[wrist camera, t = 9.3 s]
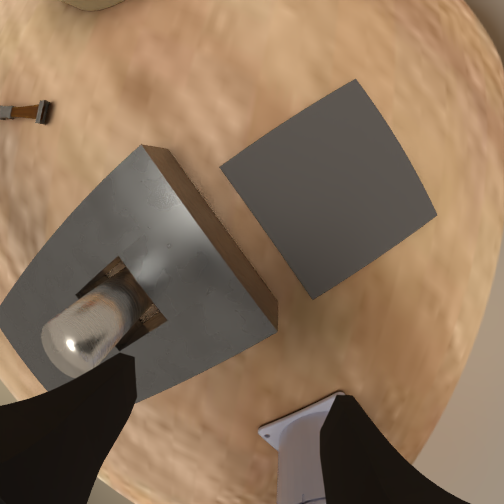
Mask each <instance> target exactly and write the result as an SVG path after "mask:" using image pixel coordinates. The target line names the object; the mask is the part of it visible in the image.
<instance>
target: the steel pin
mask: <svg viewBox="0 0 504 504" xmlns="http://www.w3.org/2000/svg"><path fill="white" fill-rule="evenodd" d="M152 304H153V301H152V300H151V299H150V298H149V296H148V295H147V294H146V292H145V291H144V290H143V288H142V287H141V286H140V284H139V283H138V282H137V280H136V279H135V278H134V276H133V275H132V274H131V272H130V271H129V270H128V268H127V267H125V268H124V269H122V270H121V271H119V272H118V273H116V274H115V275H113V276H112V277H110V278H109V279H107V280H106V281H105V282H103V283H102V284H100V285H99V286H97V287H96V288H94V289H93V290H92V291H90V292H89V293H87V294H86V295H84V296H83V297H82V298H80V299H79V300H77V301H76V302H75V303H73V304H72V305H70V306H69V307H68V308H66V309H65V310H64V311H62V312H61V313H59V314H58V315H57V316H55V317H54V318H53V319H51V320H50V321H49V322H47V323H46V324H45V325H44V326H43V328H42V332H41V339H42V344H43V347H44V350H45V352H46V354H47V356H48V357H49V359H50V360H51V362H52V363H53V364H54V365H55V366H56V367H57V368H58V369H59V370H60V371H62V372H63V373H64V374H66V375H68V376H70V377H72V378H77V377H79V376H81V375H82V374H84V373H86V372H88V371H89V370H91V369H93V368H94V367H96V366H98V365H99V364H100V362H101V361H102V360H103V359H104V358H105V357H106V355H107V354H108V353H109V352H110V351H111V350H112V349H113V347H114V346H115V345H116V344H117V343H118V342H119V341H120V339H121V338H122V337H123V336H124V335H125V334H126V333H127V332H128V330H129V329H130V328H131V327H132V326H133V325H134V324H135V323H136V321H137V320H138V319H139V318H140V317H141V316H142V315H143V314H144V313H145V311H146V310H147V309H148V308H149V307H150V306H151V305H152Z"/></svg>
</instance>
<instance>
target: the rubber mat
mask: <svg viewBox="0 0 504 504" xmlns="http://www.w3.org/2000/svg"><path fill="white" fill-rule="evenodd" d="M220 169H221V170H222V171H223V173H224V174H225V176H226V177H227V178H228V180H229V181H230V183H231V184H232V185H233V187H234V188H235V189H236V191H237V192H238V194H239V195H240V196H241V198H242V199H243V201H244V202H245V203H246V205H247V206H248V208H249V209H250V211H251V212H252V213H253V215H254V216H255V218H256V219H257V220H258V222H259V223H260V225H261V226H262V227H263V229H264V230H265V232H266V233H267V235H268V236H269V237H270V239H271V240H272V242H273V243H274V245H275V246H276V247H277V249H278V250H279V252H280V253H281V255H282V256H283V258H284V259H285V260H286V262H287V263H288V265H289V266H290V268H291V269H292V271H293V272H294V273H295V275H296V276H297V278H298V279H299V281H300V282H301V284H302V285H303V287H304V288H305V289H306V291H307V292H308V294H309V295H310V297H311V298H312V300H314V299H315V298H317V297H318V296H320V295H322V294H323V293H325V292H326V291H328V290H330V289H331V288H333V287H334V286H336V285H337V284H339V283H340V282H342V281H344V280H345V279H347V278H348V277H350V276H351V275H353V274H354V273H356V272H357V271H359V270H360V269H362V268H363V267H365V266H366V265H368V264H369V263H371V262H372V261H374V260H375V259H377V258H378V257H380V256H381V255H383V254H384V253H386V252H387V251H388V250H390V249H391V248H393V247H394V246H396V245H397V244H398V243H400V242H401V241H403V240H404V239H406V238H407V237H408V236H410V235H411V234H413V233H414V232H415V231H417V230H418V229H419V228H421V227H422V226H424V225H425V224H426V223H428V222H429V221H430V220H432V219H433V218H434V217H436V216H437V213H436V211H435V209H434V207H433V205H432V202H431V200H430V198H429V196H428V194H427V192H426V190H425V188H424V186H423V185H422V183H421V181H420V179H419V177H418V175H417V173H416V171H415V170H414V168H413V166H412V164H411V162H410V161H409V159H408V157H407V155H406V154H405V152H404V150H403V148H402V147H401V145H400V143H399V142H398V140H397V139H396V137H395V135H394V134H393V132H392V130H391V129H390V127H389V126H388V124H387V123H386V121H385V120H384V118H383V117H382V115H381V114H380V112H379V111H378V109H377V108H376V106H375V105H374V103H373V102H372V100H371V99H370V98H369V96H368V95H367V93H366V92H365V91H364V89H363V88H362V87H361V85H360V84H359V83H358V81H357V80H356V79H354V80H353V81H351V82H349V83H347V84H346V85H344V86H342V87H341V88H339V89H337V90H335V91H334V92H332V93H330V94H329V95H327V96H325V97H324V98H322V99H320V100H319V101H317V102H316V103H314V104H312V105H311V106H309V107H307V108H306V109H304V110H303V111H301V112H300V113H298V114H296V115H295V116H293V117H292V118H290V119H289V120H287V121H286V122H284V123H282V124H281V125H279V126H278V127H276V128H275V129H273V130H272V131H270V132H269V133H267V134H266V135H264V136H263V137H262V138H260V139H259V140H257V141H256V142H254V143H253V144H251V145H250V146H248V147H247V148H246V149H244V150H243V151H241V152H240V153H238V154H237V155H236V156H234V157H233V158H231V159H230V160H229V161H227V162H226V163H225V164H223V165H222V166H220Z"/></svg>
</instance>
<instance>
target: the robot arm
mask: <svg viewBox="0 0 504 504" xmlns="http://www.w3.org/2000/svg"><path fill="white" fill-rule="evenodd" d="M136 399H137V387H136V372H135V357H133V356H130V355H127V354H123V353H118V354H116V355H114V356H113V357H111V358H109V359H108V360H106V361H104V362H103V363H101V364H99V365H98V366H96V367H94V368H93V369H91V370H89V371H88V372H86V373H84V374H82V375H81V376H79V377H77V378H75V379H73V380H71V381H69V382H67V383H65V384H63V385H61V386H59V387H57V388H55V389H53V390H51V391H48V392H46V393H43V394H41V395H38V396H35V397H32V398H29V399H26V400H22V401H19V402H15V403H11V404H7V405H2V406H0V504H87V501H88V498H89V496H90V493H91V490H92V487H93V485H94V482H95V480H96V477H97V475H98V472H99V470H100V468H101V466H102V464H103V462H104V460H105V458H106V456H107V455H108V453H109V451H110V450H111V448H112V446H113V444H114V443H115V441H116V439H117V438H118V436H119V434H120V432H121V431H122V429H123V427H124V425H125V424H126V422H127V420H128V418H129V416H130V414H131V411H132V409H133V406H134V404H135V401H136ZM258 434H259V435H260V436H261V437H262V438H263V439H265V440H266V441H267V442H268V443H269V444H270V445H271V446H272V447H274V448H275V449H276V450H277V451H278V483H277V504H470V503H468V502H465V501H463V500H461V499H459V498H457V497H455V496H454V495H452V494H450V493H448V492H447V491H445V490H444V489H442V488H440V487H439V486H437V485H436V484H435V483H433V482H432V481H430V480H429V479H428V478H426V477H425V476H424V475H422V474H421V473H420V472H419V471H418V470H416V469H415V468H414V467H413V466H412V465H411V464H410V463H409V462H408V461H407V460H405V459H404V458H403V457H402V456H401V455H400V453H399V452H398V451H397V450H396V449H395V448H394V447H393V446H392V445H391V444H390V443H389V441H388V440H387V439H386V438H385V437H384V436H383V434H382V433H381V432H380V431H379V429H378V428H377V427H376V426H375V424H374V423H373V422H372V421H371V419H370V418H369V417H368V415H367V414H366V413H365V411H364V410H363V409H362V407H361V406H360V405H359V403H358V402H357V401H356V399H355V398H354V397H353V396H350V395H345V394H344V393H343V392H337V393H335V394H333V395H331V396H329V397H327V398H325V399H323V400H321V401H319V402H317V403H315V404H313V405H311V406H308V407H306V408H304V409H302V410H300V411H298V412H295V413H293V414H291V415H289V416H286V417H284V418H282V419H279V420H277V421H275V422H272V423H270V424H267V425H265V426H262V427H260V428H259V429H258ZM266 434H269V435H266Z"/></svg>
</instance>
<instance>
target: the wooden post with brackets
mask: <svg viewBox="0 0 504 504" xmlns="http://www.w3.org/2000/svg"><path fill="white" fill-rule="evenodd" d="M49 103H51V102H48V101H46V100H43V101H41V100H40V104H39V105H34V106H25V107H15V106H1V105H0V119H1V120H6V118H9V119H13V118H15V117H24V118H32V119H36V122H35V123H39V124H44V123H45V118H46V113H47V109H48V105H49ZM45 125H46V124H45Z"/></svg>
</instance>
